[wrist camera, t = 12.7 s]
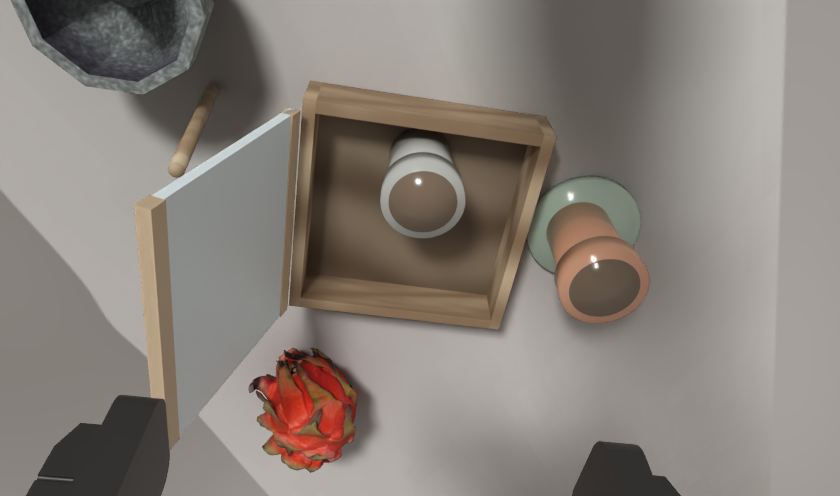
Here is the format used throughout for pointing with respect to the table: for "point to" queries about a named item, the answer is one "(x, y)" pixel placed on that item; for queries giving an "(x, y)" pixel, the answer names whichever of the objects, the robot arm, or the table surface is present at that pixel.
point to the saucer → (582, 190)
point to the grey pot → (422, 185)
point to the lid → (216, 265)
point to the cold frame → (367, 227)
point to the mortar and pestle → (117, 38)
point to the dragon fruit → (306, 410)
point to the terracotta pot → (594, 265)
